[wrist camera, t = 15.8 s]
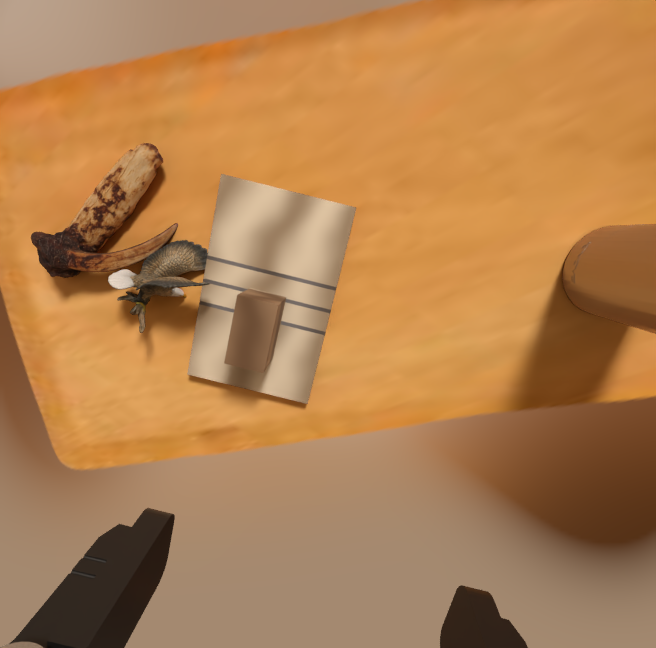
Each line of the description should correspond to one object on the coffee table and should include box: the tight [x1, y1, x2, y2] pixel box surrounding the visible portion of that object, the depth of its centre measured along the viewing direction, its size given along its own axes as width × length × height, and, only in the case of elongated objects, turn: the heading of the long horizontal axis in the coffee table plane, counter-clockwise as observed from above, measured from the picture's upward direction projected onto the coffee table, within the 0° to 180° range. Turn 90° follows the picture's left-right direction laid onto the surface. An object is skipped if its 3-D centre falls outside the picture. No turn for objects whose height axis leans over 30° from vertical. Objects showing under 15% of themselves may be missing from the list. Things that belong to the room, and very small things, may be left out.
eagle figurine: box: [108, 240, 210, 333], centre depth 40 cm, size 8×7×9 cm
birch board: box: [188, 174, 356, 404], centre depth 42 cm, size 14×22×1 cm, turn 166°
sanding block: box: [224, 288, 286, 373], centre depth 40 cm, size 4×7×5 cm, turn 166°
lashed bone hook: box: [31, 143, 178, 278], centre depth 40 cm, size 9×5×18 cm
